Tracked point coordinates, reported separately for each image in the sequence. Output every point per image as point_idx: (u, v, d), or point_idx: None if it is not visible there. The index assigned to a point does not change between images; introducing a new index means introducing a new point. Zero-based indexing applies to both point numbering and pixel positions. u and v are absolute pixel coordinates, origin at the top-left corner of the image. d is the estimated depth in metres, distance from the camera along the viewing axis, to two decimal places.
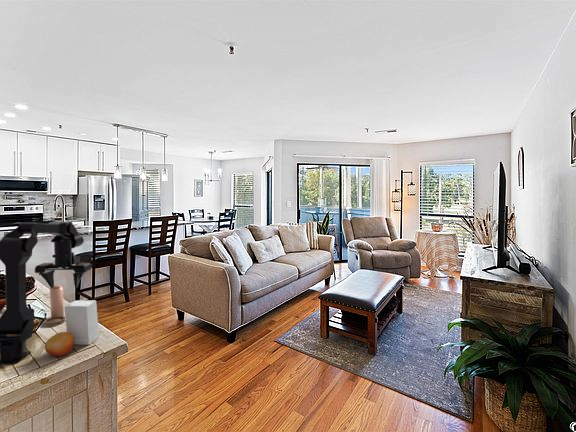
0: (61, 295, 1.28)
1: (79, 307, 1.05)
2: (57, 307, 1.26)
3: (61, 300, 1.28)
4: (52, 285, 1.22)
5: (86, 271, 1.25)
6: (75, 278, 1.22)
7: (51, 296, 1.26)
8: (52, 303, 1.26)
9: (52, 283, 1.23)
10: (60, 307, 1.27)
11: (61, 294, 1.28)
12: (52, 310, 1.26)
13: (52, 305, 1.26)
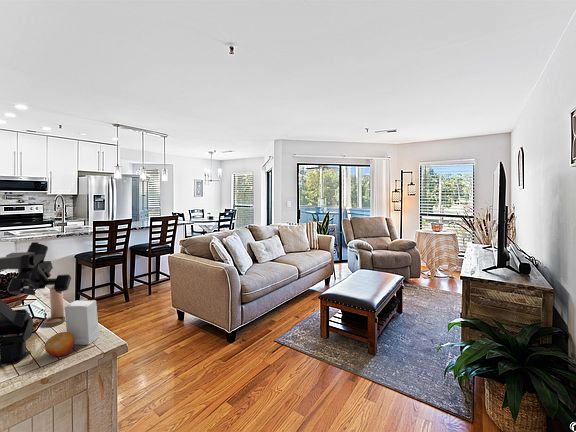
0: (61, 295, 1.28)
1: (79, 307, 1.05)
2: (57, 307, 1.26)
3: (61, 300, 1.28)
4: (33, 293, 1.18)
5: None
6: (59, 292, 1.17)
7: (51, 296, 1.26)
8: (52, 303, 1.26)
9: (33, 292, 1.17)
10: (60, 307, 1.27)
11: (61, 294, 1.28)
12: (52, 310, 1.26)
13: (52, 305, 1.26)
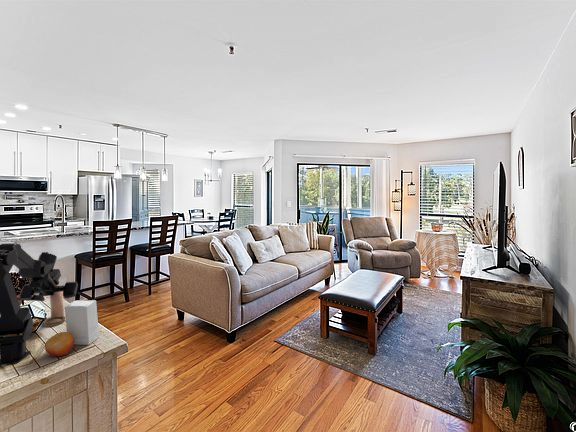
0: (61, 295, 1.28)
1: (79, 307, 1.05)
2: (57, 307, 1.26)
3: (61, 300, 1.28)
4: (43, 299, 1.25)
5: None
6: (67, 298, 1.25)
7: (51, 296, 1.26)
8: (52, 303, 1.26)
9: (42, 298, 1.25)
10: (60, 307, 1.27)
11: (61, 294, 1.28)
12: (52, 310, 1.26)
13: (52, 305, 1.26)
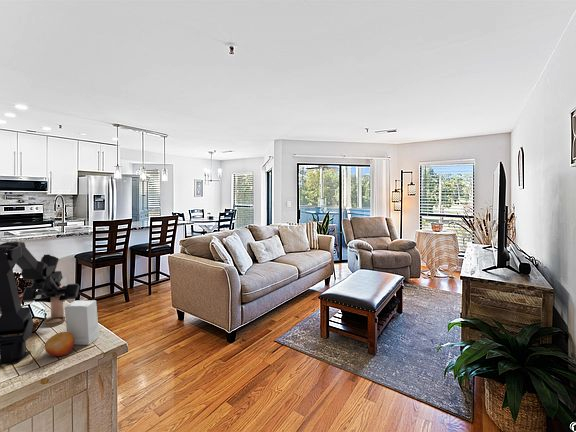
0: None
1: (79, 307, 1.05)
2: (57, 307, 1.26)
3: None
4: None
5: None
6: (62, 300, 1.26)
7: None
8: (52, 302, 1.26)
9: None
10: (60, 307, 1.27)
11: None
12: (52, 310, 1.26)
13: (52, 305, 1.26)
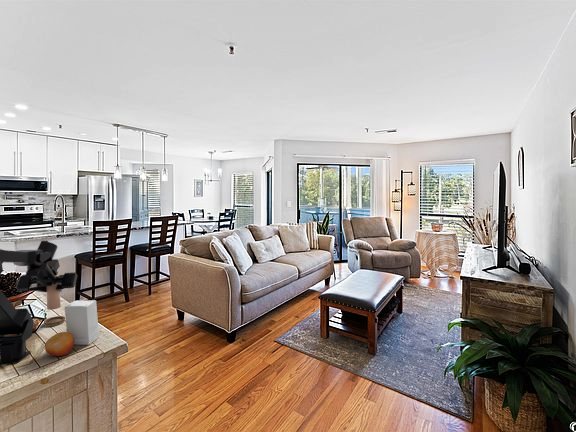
0: None
1: (79, 307, 1.05)
2: (54, 297, 1.20)
3: None
4: None
5: None
6: (59, 290, 1.20)
7: None
8: (48, 292, 1.20)
9: (46, 289, 1.21)
10: (57, 298, 1.21)
11: None
12: (48, 300, 1.20)
13: (48, 295, 1.20)
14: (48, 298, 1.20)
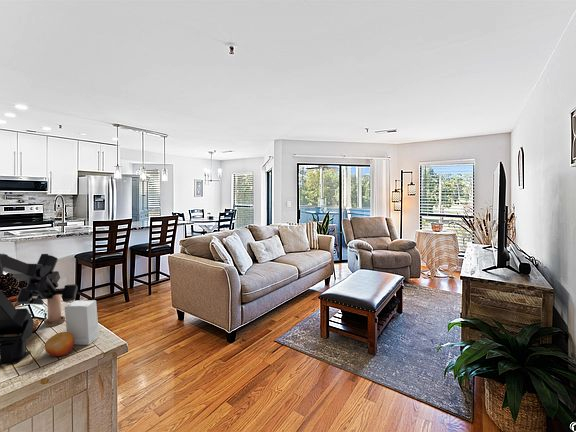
0: (59, 298, 1.22)
1: (79, 307, 1.05)
2: (55, 311, 1.21)
3: (59, 304, 1.22)
4: (42, 302, 1.21)
5: None
6: (66, 301, 1.20)
7: (48, 299, 1.20)
8: (49, 306, 1.20)
9: (41, 301, 1.21)
10: (58, 311, 1.22)
11: (59, 297, 1.22)
12: (49, 314, 1.20)
13: (49, 309, 1.20)
14: (49, 312, 1.20)
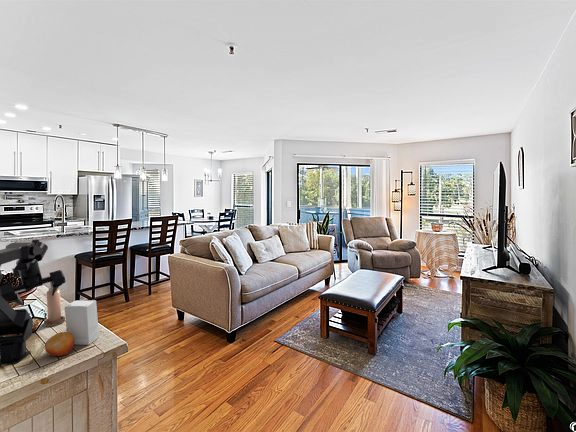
0: (58, 298, 1.22)
1: (79, 307, 1.05)
2: (54, 311, 1.21)
3: (58, 304, 1.22)
4: (22, 303, 1.11)
5: None
6: (54, 289, 1.15)
7: (48, 300, 1.20)
8: (49, 306, 1.20)
9: (21, 301, 1.11)
10: (58, 311, 1.22)
11: (58, 297, 1.22)
12: (49, 314, 1.20)
13: (49, 309, 1.20)
14: (49, 312, 1.20)
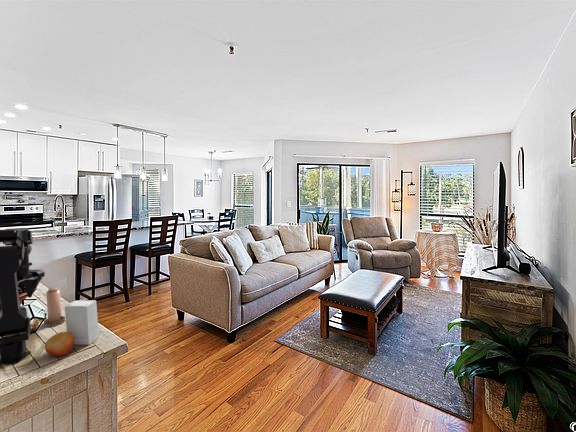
0: (58, 298, 1.22)
1: (79, 307, 1.05)
2: (54, 311, 1.21)
3: (58, 304, 1.22)
4: None
5: None
6: (36, 285, 1.17)
7: (48, 300, 1.20)
8: (49, 306, 1.20)
9: None
10: (58, 311, 1.22)
11: (58, 297, 1.22)
12: (49, 314, 1.20)
13: (49, 309, 1.20)
14: (49, 312, 1.20)
